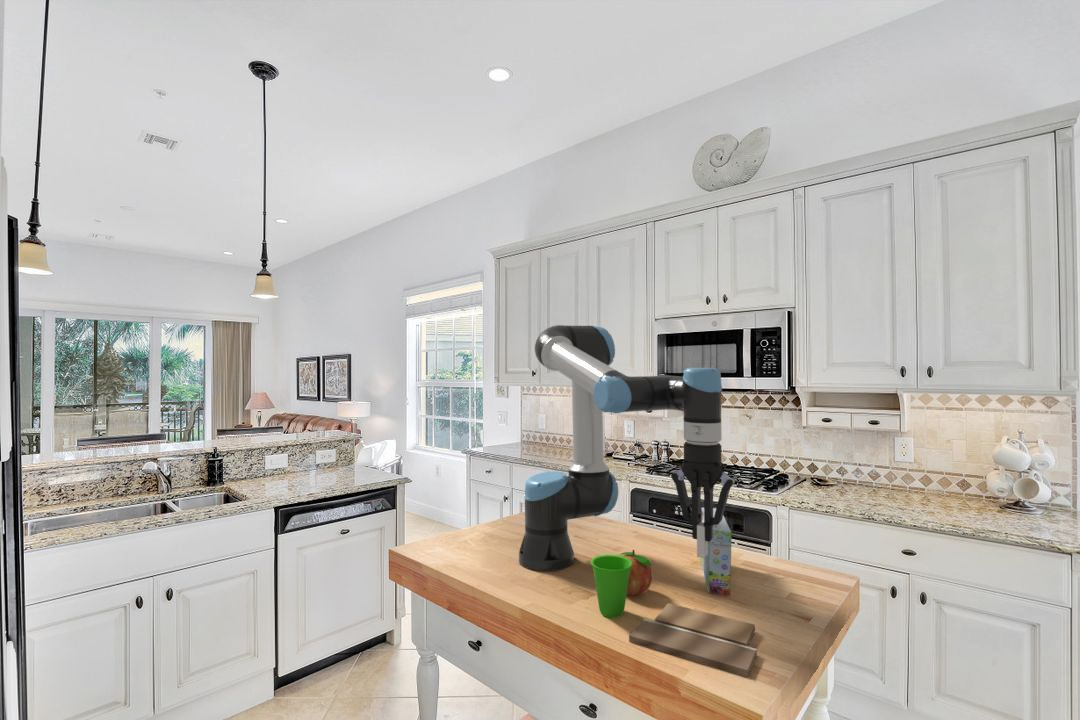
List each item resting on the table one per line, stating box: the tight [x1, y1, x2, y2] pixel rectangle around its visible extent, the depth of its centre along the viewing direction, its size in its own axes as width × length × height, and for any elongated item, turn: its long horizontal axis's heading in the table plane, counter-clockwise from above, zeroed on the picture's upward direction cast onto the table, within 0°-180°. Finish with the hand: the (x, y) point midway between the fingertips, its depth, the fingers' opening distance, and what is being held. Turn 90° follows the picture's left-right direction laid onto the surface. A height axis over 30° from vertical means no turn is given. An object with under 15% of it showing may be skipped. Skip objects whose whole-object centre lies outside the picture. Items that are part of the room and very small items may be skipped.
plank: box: [654, 602, 756, 647], centre depth 109 cm, size 18×8×1 cm, turn 57°
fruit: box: [620, 549, 653, 596], centre depth 126 cm, size 9×10×10 cm
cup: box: [590, 554, 633, 619], centre depth 116 cm, size 9×9×11 cm
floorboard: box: [628, 618, 758, 678], centre depth 102 cm, size 22×8×1 cm, turn 57°
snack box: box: [700, 506, 732, 597], centre depth 135 cm, size 21×6×15 cm, turn 168°
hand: (702, 555), depth 111 cm, fingers closed
